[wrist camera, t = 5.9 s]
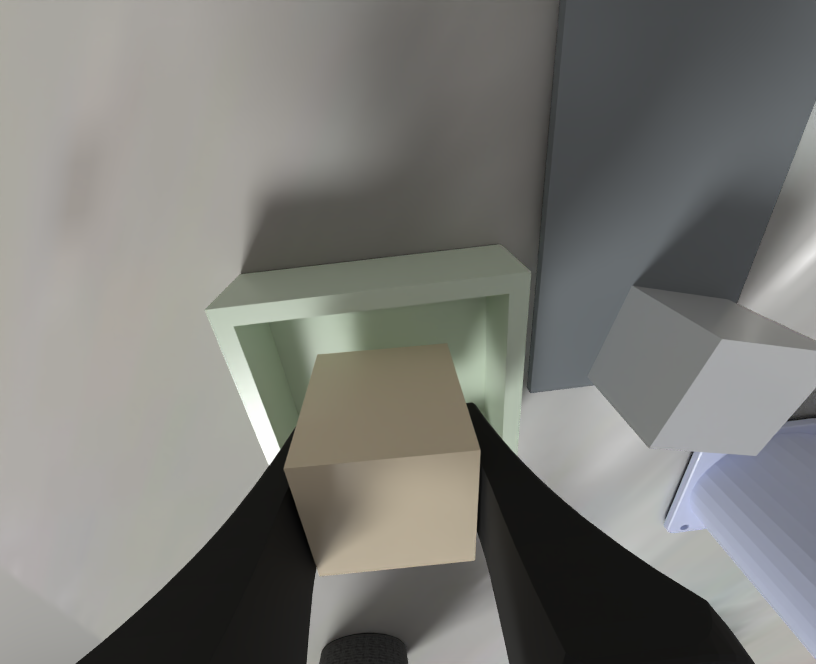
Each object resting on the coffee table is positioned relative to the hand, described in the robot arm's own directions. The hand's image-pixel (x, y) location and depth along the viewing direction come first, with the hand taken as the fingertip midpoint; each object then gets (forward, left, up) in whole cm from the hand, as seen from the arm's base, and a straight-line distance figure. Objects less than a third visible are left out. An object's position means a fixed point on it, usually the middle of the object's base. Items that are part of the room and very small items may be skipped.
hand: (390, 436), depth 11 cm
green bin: (0, 0, -4) cm, 4 cm away
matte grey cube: (-11, 0, -3) cm, 12 cm away
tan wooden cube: (0, 0, -2) cm, 2 cm away
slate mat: (-10, -5, -4) cm, 12 cm away
